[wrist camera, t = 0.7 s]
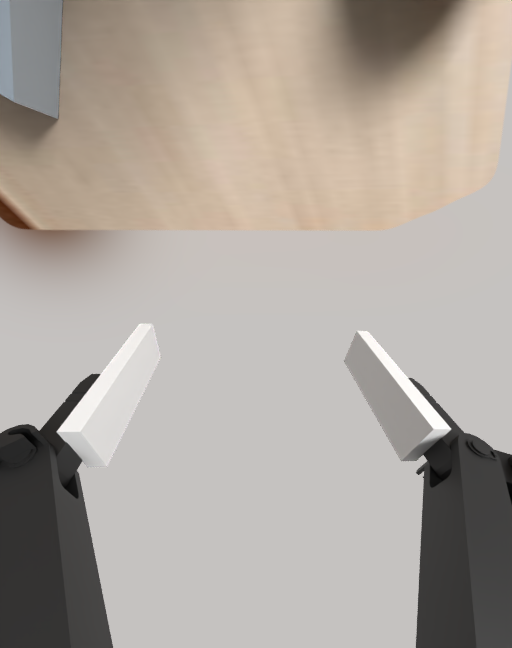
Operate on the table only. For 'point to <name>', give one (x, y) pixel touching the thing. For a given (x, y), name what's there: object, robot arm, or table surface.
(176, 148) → the table surface
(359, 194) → the table surface
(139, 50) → the table surface
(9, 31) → the socket
